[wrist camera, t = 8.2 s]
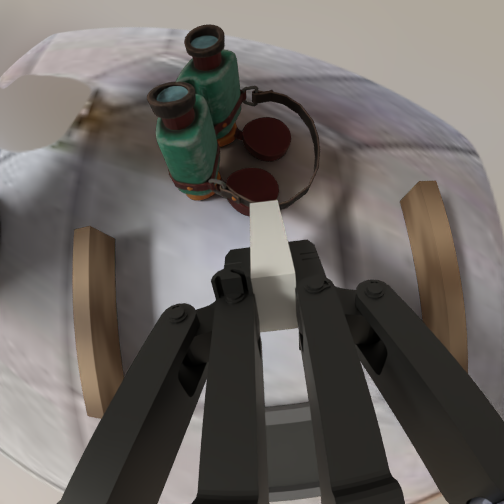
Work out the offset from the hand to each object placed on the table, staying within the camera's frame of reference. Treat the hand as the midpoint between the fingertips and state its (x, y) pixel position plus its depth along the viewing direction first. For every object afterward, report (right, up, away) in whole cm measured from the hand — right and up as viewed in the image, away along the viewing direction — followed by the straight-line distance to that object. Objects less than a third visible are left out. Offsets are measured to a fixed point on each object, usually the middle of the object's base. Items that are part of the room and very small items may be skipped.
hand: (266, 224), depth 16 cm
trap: (+1, -16, 0) cm, 16 cm away
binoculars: (-1, +5, +5) cm, 7 cm away
